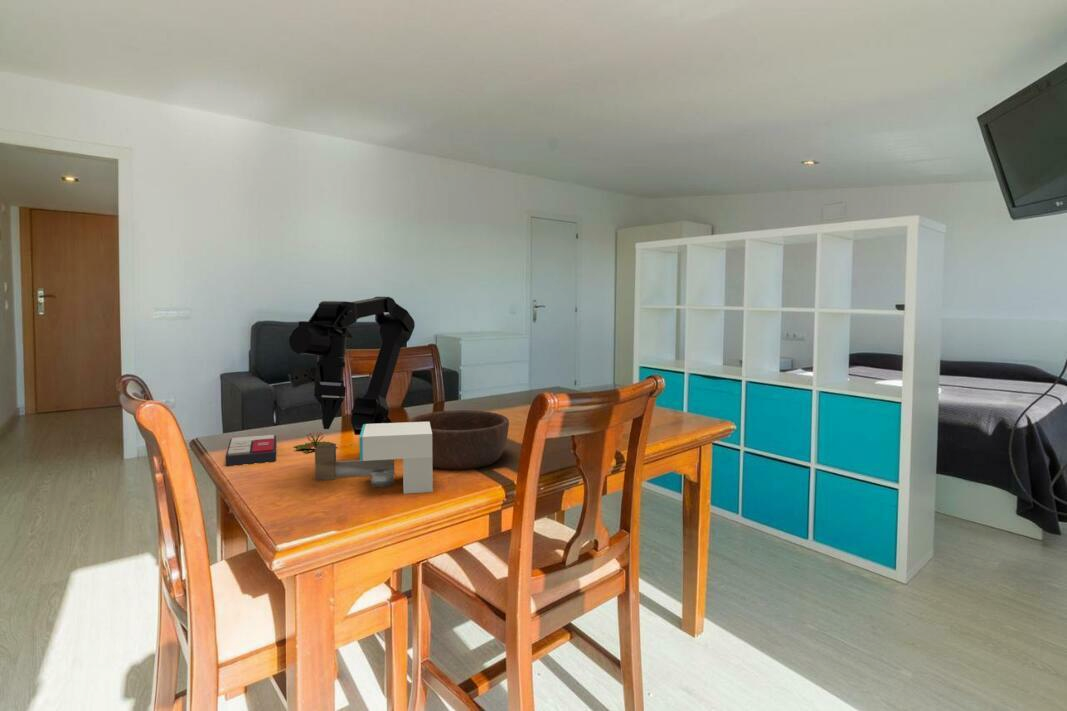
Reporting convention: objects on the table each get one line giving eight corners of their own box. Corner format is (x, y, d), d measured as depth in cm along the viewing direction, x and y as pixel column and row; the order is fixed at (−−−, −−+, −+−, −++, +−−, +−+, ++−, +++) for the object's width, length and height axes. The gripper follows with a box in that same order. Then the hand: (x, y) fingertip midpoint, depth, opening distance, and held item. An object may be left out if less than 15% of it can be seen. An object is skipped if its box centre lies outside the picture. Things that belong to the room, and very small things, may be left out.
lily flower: (328, 441, 165) (328, 425, 165) (346, 450, 156) (346, 433, 156) (285, 448, 157) (284, 432, 157) (301, 458, 148) (300, 440, 148)
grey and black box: (225, 453, 139) (230, 436, 152) (226, 470, 139) (230, 451, 153) (275, 448, 143) (276, 432, 156) (276, 465, 143) (276, 447, 157)
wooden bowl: (521, 450, 156) (521, 413, 155) (489, 478, 132) (489, 434, 131) (435, 443, 163) (435, 407, 162) (390, 468, 139) (389, 426, 138)
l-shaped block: (364, 478, 131) (363, 423, 130) (429, 474, 134) (429, 421, 133) (360, 496, 119) (359, 436, 118) (432, 492, 122) (432, 433, 121)
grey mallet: (318, 475, 133) (317, 445, 132) (394, 471, 137) (394, 441, 136) (315, 480, 129) (314, 449, 128) (394, 476, 133) (393, 446, 132)
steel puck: (371, 481, 129) (371, 469, 129) (393, 480, 130) (393, 468, 130) (370, 488, 125) (370, 475, 124) (393, 487, 126) (393, 474, 125)
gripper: (293, 355, 135) (287, 422, 135) (291, 353, 118) (284, 430, 117) (343, 358, 139) (338, 424, 139) (348, 357, 122) (342, 431, 121)
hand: (325, 427), depth 129 cm, fingers open, 9 cm apart
